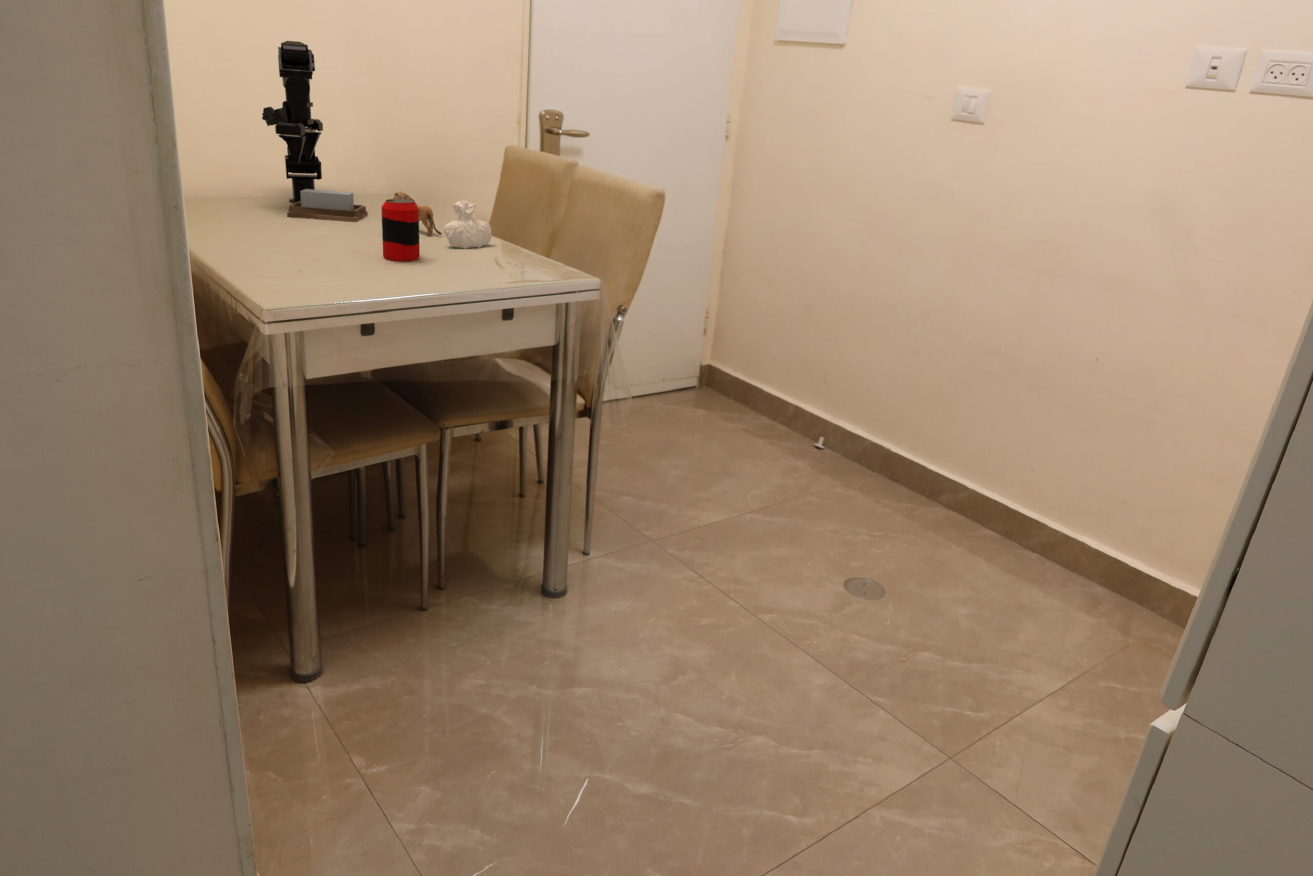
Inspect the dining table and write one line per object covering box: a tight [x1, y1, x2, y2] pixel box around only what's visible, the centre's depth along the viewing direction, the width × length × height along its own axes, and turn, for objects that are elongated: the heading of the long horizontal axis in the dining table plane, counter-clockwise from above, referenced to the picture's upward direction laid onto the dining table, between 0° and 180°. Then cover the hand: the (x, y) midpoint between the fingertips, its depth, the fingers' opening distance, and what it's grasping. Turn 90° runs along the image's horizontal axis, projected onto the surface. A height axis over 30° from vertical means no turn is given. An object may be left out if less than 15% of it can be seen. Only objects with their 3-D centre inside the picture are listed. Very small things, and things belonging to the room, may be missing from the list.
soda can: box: [380, 198, 421, 262], centre depth 192 cm, size 8×8×12 cm
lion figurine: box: [392, 191, 443, 237], centre depth 220 cm, size 15×5×9 cm, turn 64°
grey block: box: [300, 189, 355, 211], centre depth 231 cm, size 4×12×5 cm, turn 92°
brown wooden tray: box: [286, 201, 368, 223], centre depth 232 cm, size 11×17×2 cm, turn 92°
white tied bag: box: [443, 199, 492, 250], centre depth 210 cm, size 12×8×11 cm
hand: (302, 161), depth 233 cm, fingers open, 9 cm apart
